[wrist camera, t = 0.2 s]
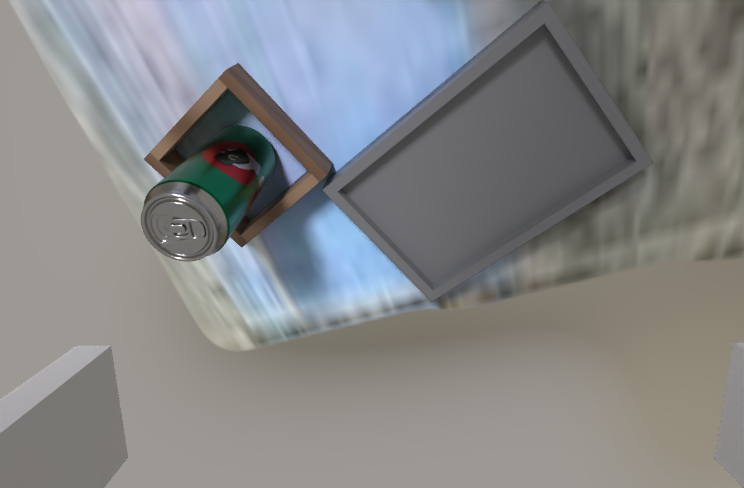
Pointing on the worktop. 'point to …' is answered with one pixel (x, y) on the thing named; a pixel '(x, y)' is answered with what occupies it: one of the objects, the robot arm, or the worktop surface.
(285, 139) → the walnut collar
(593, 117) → the grey tray
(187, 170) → the soda can
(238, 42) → the worktop surface
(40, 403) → the robot arm
